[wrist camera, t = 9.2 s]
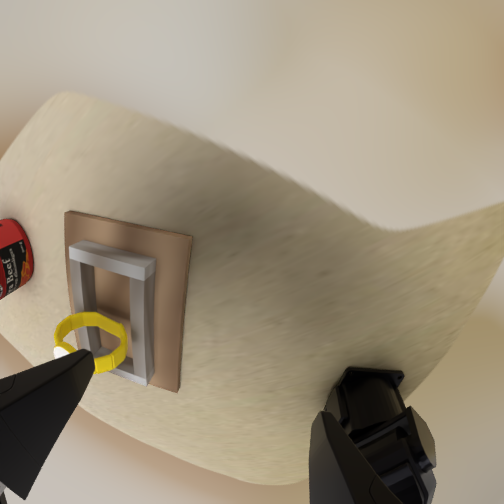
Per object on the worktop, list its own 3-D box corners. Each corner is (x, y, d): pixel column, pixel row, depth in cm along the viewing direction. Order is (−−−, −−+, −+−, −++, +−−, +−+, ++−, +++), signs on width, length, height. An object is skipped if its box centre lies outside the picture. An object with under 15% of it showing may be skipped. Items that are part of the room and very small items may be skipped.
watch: (139, 321, 19) (99, 368, 14) (138, 347, 20) (104, 394, 15) (80, 297, 20) (36, 332, 14) (83, 323, 21) (44, 359, 15)
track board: (192, 236, 20) (179, 247, 17) (179, 387, 25) (171, 407, 22) (70, 210, 20) (49, 217, 17) (83, 351, 25) (70, 365, 22)
